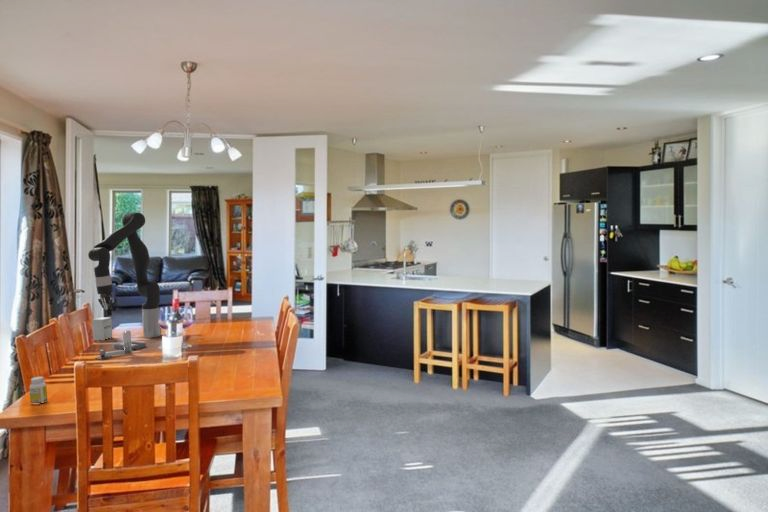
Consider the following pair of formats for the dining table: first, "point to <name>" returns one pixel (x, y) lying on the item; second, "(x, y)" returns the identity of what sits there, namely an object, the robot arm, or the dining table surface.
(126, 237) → the robot arm
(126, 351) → the cable arm
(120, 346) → the server lid
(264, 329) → the dining table surface
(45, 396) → the supplement bottle
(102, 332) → the supplement box
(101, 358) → the hinge foot
